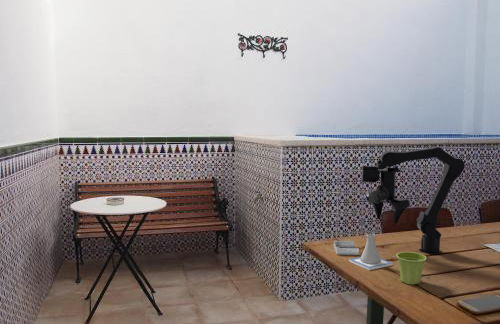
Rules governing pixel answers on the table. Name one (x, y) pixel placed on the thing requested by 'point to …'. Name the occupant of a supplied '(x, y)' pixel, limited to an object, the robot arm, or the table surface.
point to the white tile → (370, 266)
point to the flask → (370, 251)
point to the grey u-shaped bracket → (346, 248)
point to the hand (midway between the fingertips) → (386, 221)
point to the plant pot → (411, 267)
